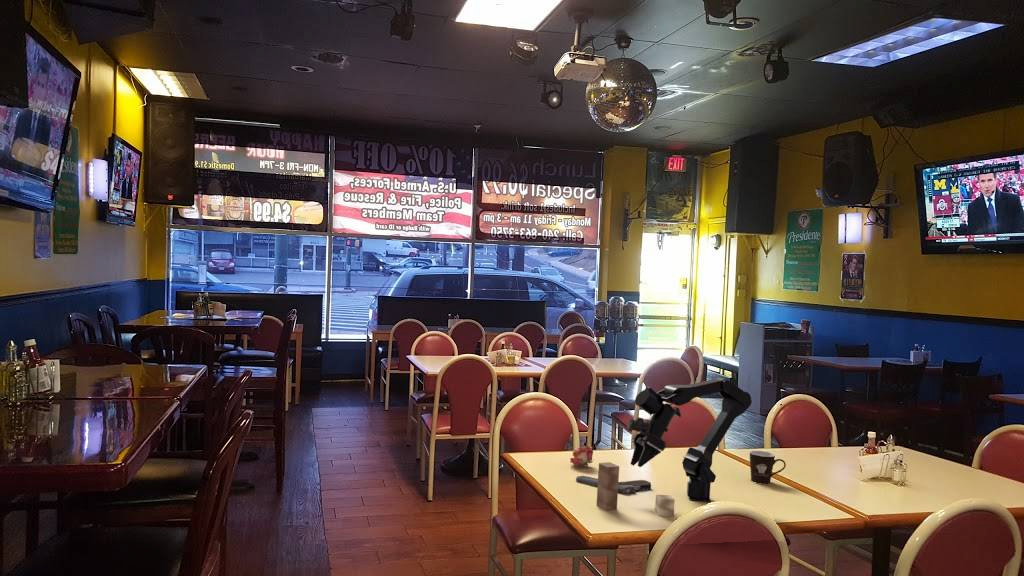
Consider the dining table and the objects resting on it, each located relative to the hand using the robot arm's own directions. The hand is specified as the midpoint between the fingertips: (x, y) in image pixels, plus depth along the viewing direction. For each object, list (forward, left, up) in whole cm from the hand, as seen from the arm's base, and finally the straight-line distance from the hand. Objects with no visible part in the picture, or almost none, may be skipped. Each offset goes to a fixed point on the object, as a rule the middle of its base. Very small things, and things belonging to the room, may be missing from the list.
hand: (635, 465), depth 225 cm
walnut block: (+8, +6, -12) cm, 16 cm away
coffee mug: (-49, -39, -12) cm, 63 cm away
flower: (+16, -41, -12) cm, 46 cm away
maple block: (-9, +7, -12) cm, 16 cm away
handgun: (+5, -20, -12) cm, 24 cm away
